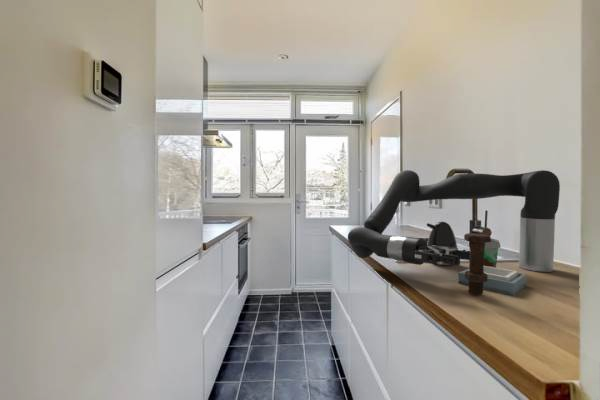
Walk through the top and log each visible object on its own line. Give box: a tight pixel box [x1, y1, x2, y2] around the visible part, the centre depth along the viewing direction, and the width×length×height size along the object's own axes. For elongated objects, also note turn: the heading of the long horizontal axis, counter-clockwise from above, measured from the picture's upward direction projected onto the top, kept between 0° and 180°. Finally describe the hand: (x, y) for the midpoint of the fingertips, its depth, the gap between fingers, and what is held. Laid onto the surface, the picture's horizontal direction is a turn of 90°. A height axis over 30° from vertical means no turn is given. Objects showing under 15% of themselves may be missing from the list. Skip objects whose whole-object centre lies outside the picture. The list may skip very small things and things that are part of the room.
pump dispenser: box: [426, 221, 458, 266], centre depth 108 cm, size 10×10×15 cm
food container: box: [483, 238, 501, 268], centre depth 101 cm, size 12×6×10 cm, turn 154°
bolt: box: [463, 233, 492, 297], centre depth 76 cm, size 6×5×15 cm
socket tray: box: [457, 266, 527, 296], centre depth 84 cm, size 13×13×4 cm
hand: (466, 258), depth 77 cm, fingers open, 8 cm apart
